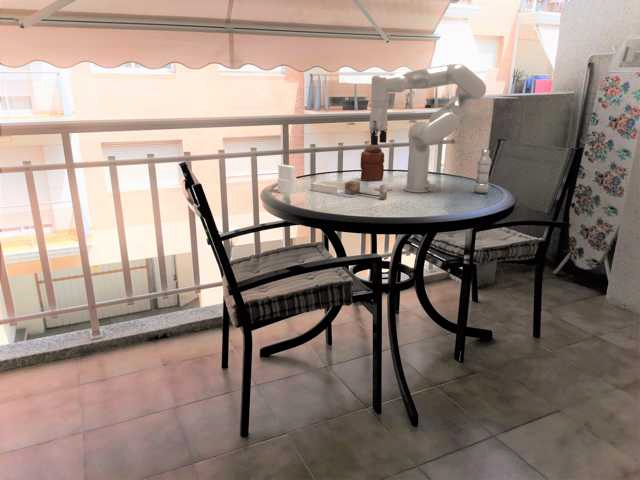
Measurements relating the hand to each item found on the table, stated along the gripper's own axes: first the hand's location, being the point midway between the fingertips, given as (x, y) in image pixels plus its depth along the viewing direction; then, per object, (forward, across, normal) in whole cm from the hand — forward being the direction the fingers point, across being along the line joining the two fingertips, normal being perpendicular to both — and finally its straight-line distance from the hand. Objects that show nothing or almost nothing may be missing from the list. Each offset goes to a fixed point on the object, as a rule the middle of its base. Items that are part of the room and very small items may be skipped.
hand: (378, 143), depth 216 cm
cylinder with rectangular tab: (+22, +21, -37) cm, 48 cm away
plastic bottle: (+24, -24, +42) cm, 54 cm away
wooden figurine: (+23, -24, -14) cm, 36 cm away
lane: (+22, +10, -21) cm, 32 cm away
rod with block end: (+22, +11, 0) cm, 24 cm away
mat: (+22, +10, -9) cm, 26 cm away
